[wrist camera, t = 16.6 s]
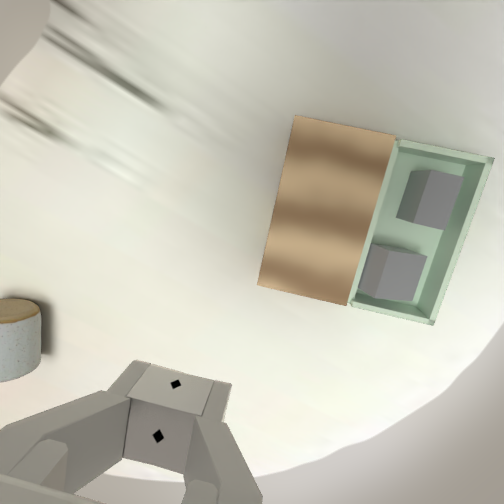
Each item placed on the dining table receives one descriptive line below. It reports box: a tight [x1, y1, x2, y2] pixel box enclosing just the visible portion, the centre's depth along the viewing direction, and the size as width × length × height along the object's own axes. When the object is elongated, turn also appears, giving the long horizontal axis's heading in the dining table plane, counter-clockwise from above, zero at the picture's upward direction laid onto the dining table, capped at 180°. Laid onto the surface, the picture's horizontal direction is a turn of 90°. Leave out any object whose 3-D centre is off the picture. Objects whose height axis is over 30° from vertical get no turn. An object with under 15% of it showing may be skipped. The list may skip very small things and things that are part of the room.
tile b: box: [358, 243, 427, 301], centre depth 34 cm, size 5×5×3 cm
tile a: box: [396, 170, 464, 231], centre depth 32 cm, size 5×5×3 cm
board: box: [257, 115, 396, 306], centre depth 35 cm, size 18×10×3 cm, turn 168°
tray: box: [347, 139, 495, 326], centre depth 34 cm, size 17×9×4 cm, turn 168°
